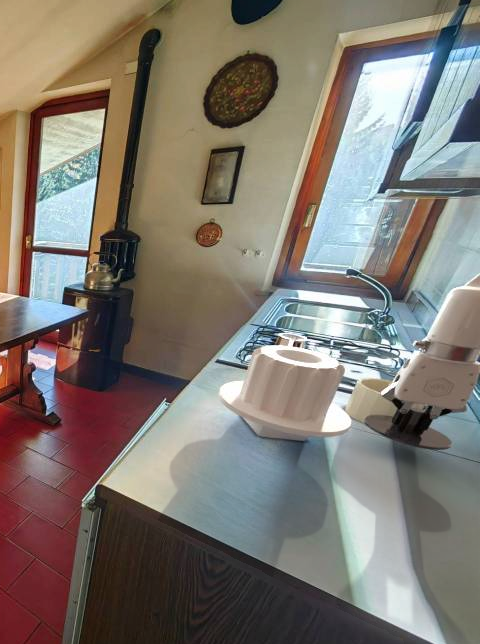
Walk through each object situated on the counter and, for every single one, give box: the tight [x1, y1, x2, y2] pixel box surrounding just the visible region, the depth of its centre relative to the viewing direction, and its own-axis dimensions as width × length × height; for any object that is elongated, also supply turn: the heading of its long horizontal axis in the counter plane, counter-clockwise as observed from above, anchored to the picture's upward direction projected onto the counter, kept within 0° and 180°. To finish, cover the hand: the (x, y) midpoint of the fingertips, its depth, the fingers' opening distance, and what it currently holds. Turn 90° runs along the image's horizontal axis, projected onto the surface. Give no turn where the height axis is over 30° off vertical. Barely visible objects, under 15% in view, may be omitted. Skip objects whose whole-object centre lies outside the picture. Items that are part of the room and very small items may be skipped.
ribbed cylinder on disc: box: [217, 344, 352, 442], centre depth 91 cm, size 25×25×19 cm
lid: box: [363, 407, 453, 451], centre depth 84 cm, size 13×13×6 cm
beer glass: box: [273, 332, 308, 349], centre depth 115 cm, size 7×7×15 cm
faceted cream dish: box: [344, 377, 426, 424], centre depth 98 cm, size 12×12×8 cm
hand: (406, 428), depth 84 cm, fingers closed on lid, 2 cm apart
